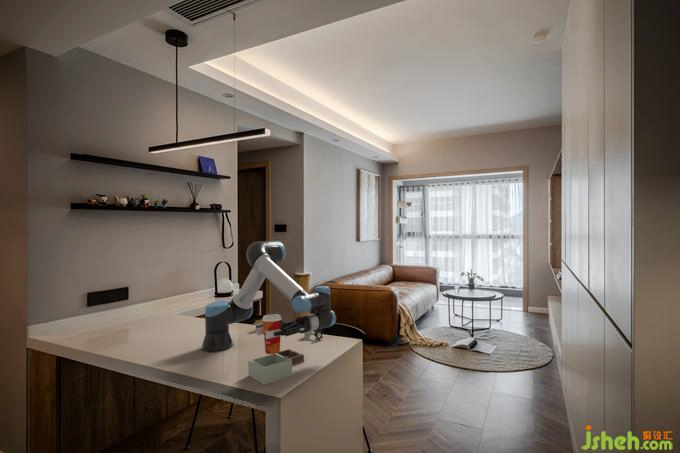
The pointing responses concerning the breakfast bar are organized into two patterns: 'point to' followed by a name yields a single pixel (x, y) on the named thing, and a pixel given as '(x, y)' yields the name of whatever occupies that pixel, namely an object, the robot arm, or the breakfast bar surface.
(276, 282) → the robot arm
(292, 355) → the walnut collar
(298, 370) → the breakfast bar surface
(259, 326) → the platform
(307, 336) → the valve
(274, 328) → the coffee cup
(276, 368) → the box
